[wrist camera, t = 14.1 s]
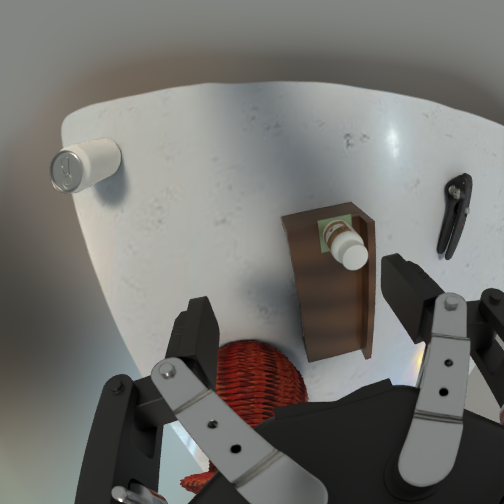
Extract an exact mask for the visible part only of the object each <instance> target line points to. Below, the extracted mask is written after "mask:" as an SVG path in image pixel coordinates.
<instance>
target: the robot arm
mask: <svg viewBox="0 0 504 504" xmlns="http://www.w3.org/2000/svg"><path fill="white" fill-rule="evenodd" d="M381 291H382V294H383V297H384V298H385V300H386V301H387V303H388V304H389V306H390V307H391V309H392V310H393V312H394V313H395V315H396V316H397V318H398V319H399V321H400V322H401V324H402V325H403V327H404V328H405V330H406V331H407V333H408V334H409V336H410V337H411V339H412V340H413V342H414V344H417V343H420V342H423V341H424V342H425V344H426V345H425V349H424V354H423V358H422V363H421V367H420V371H419V375H418V379H417V383H416V386H415V387H413V386H407V385H392V383H391V381H390V379H389V378H388V379H385V380H382V381H379V382H376V383H373V384H370V385H367V386H364V387H361V388H360V389H358V390H356V391H354V392H352V393H351V394H349V395H347V396H345V397H343V398H341V399H339V400H337V401H332V402H302V403H297V404H292V405H287V406H282V407H276V408H274V413H275V416H273V417H271V418H269V419H267V420H265V421H263V422H261V423H260V424H258V425H257V426H256V427H254V428H253V429H252V428H251V427H250V426H249V425H248V424H247V423H246V422H245V421H244V420H243V419H241V418H240V417H239V416H238V415H237V414H236V413H235V412H234V411H233V410H232V409H231V408H230V407H229V406H228V405H227V404H226V403H225V402H224V401H223V400H222V399H221V398H220V397H219V396H218V395H217V394H216V393H215V392H216V379H217V364H218V350H219V337H220V333H219V326H218V323H217V320H216V317H215V315H214V312H213V310H212V307H211V304H210V302H209V299H208V298H207V296H204V297H199V298H194V299H190V301H189V305H188V309H187V311H183V312H181V313H180V314H179V316H178V317H177V318H176V319H175V322H174V326H173V330H172V333H171V337H170V340H169V344H168V348H167V352H166V356H165V359H164V360H162V361H160V362H158V363H157V364H156V365H155V366H154V368H153V369H152V371H151V375H150V376H147V377H144V378H142V379H139V380H136V381H133V380H132V379H131V378H130V377H129V376H128V375H125V374H119V375H116V376H113V377H112V378H110V379H109V380H108V381H107V382H106V383H105V385H104V387H103V390H102V393H101V397H100V400H99V403H98V406H97V409H96V413H95V416H94V420H93V423H92V427H91V431H90V434H89V438H88V442H87V446H86V450H85V454H84V458H83V463H82V467H81V472H80V477H79V481H78V486H77V492H76V498H75V504H168V503H167V501H166V499H165V498H164V497H163V496H161V495H160V494H158V483H159V469H160V457H161V446H162V436H163V426H164V425H165V424H167V423H171V422H174V421H177V420H179V422H180V423H181V424H182V426H183V427H184V428H185V430H186V431H187V432H188V434H189V435H190V436H191V437H192V439H193V440H194V441H195V442H196V444H197V445H198V446H199V447H200V449H201V450H202V451H203V452H204V453H205V455H206V456H207V457H208V458H209V459H210V460H211V462H212V463H213V464H214V465H215V466H216V467H217V468H218V471H217V472H216V473H215V474H214V475H213V477H212V478H211V479H210V480H209V481H208V482H207V483H206V485H205V486H204V487H203V488H202V489H201V490H200V491H199V492H198V493H197V495H196V496H195V497H194V498H193V499H192V500H191V501H190V502H189V503H188V504H504V350H503V349H502V347H501V346H500V345H499V343H498V342H497V341H496V339H495V337H496V335H497V334H498V335H499V337H500V338H501V339H502V341H503V342H504V292H502V291H500V290H498V289H494V288H489V289H486V290H484V291H483V292H482V294H481V298H480V300H477V301H468V302H466V301H465V299H464V298H463V297H462V296H460V295H458V294H455V293H445V292H444V291H443V290H442V289H441V288H440V287H439V285H438V284H437V283H436V282H435V281H434V280H433V279H432V278H431V277H429V275H428V274H427V273H426V272H424V270H423V269H422V268H421V267H420V266H419V265H417V264H415V263H413V262H411V261H407V262H406V261H405V260H404V259H403V258H402V257H401V256H400V255H399V254H398V253H395V254H391V255H388V256H384V257H382V260H381ZM470 356H471V357H472V359H473V360H474V362H475V364H476V365H477V367H478V369H479V370H480V372H481V373H482V375H483V377H484V379H485V380H486V382H487V384H488V386H489V387H490V389H491V391H492V393H493V395H494V396H495V399H496V400H497V402H498V404H499V406H500V408H501V410H500V423H497V422H494V421H492V420H489V419H487V418H485V417H482V416H480V415H478V414H475V413H473V412H470V411H468V410H466V409H464V404H465V398H466V390H467V382H468V372H469V360H470Z"/></svg>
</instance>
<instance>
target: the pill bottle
mask: <svg viewBox="0 0 504 504" xmlns="http://www.w3.org/2000/svg"><path fill="white" fill-rule="evenodd" d="M323 240H324V242H325V244H326V246H327V247H328V249H329V250H330V252H331V253H332V255H333V257H334V258H335V259H336V260H337V261H338V262H340V263H342V264H343V265H344V266H345V267H346V268H347V269H349V270H357V269H359V268H361V267H362V266H363V265H364V264H365V263H366V261H367V259H368V251H367V249H366V248H365V246H364V243H363V240H362V238H361V237H360V236H359V235H358V234H357V233H356V232H355V230H354V229H353V228H352V227H351V226H350V225H349V224H348V223H347V222H345V221H343V220H334V221H332V222H330V223H329V224H328V225H327V226H326V227H325V229H324V231H323Z"/></svg>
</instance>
